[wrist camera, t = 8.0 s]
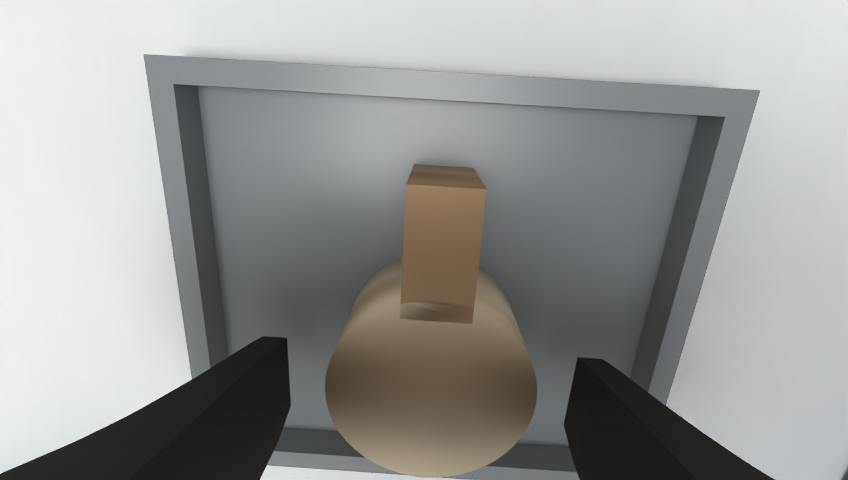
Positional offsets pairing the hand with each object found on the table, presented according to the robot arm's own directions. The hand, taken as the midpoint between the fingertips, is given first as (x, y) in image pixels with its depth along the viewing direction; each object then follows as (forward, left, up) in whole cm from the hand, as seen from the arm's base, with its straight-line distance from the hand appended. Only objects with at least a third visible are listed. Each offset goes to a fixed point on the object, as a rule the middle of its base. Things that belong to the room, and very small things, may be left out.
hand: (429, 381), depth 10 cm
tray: (0, -1, -3) cm, 3 cm away
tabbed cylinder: (0, -1, -2) cm, 3 cm away
